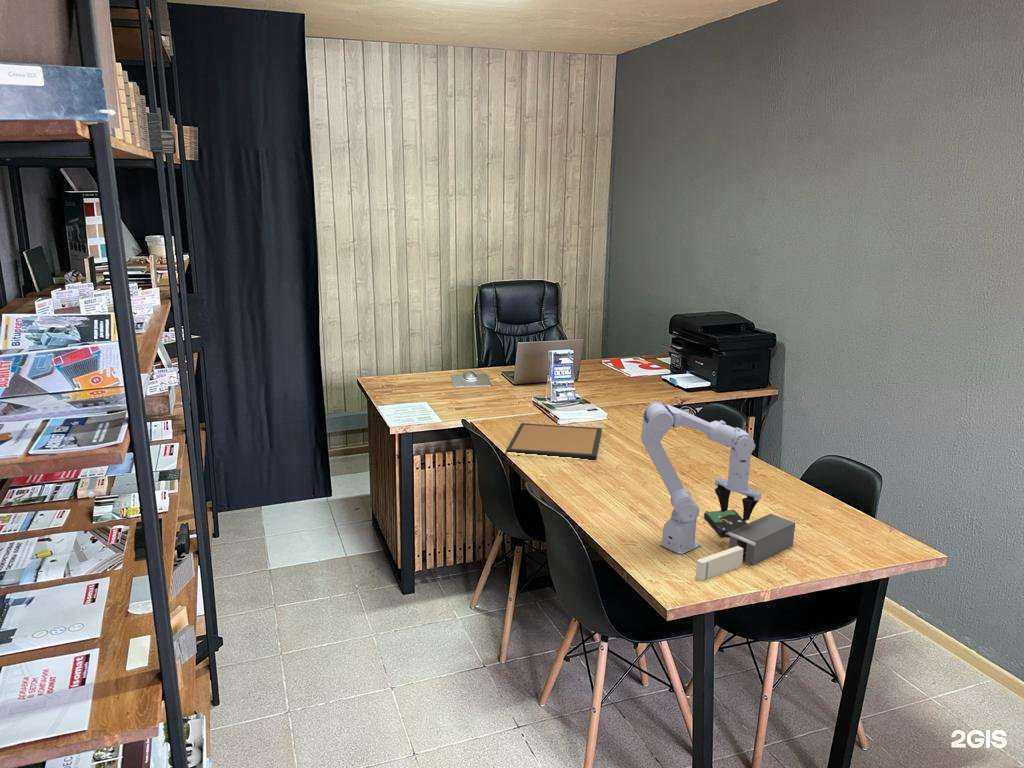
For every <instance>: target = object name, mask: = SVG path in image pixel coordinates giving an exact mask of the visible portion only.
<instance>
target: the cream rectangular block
mask: <svg viewBox="0 0 1024 768" xmlns="http://www.w3.org/2000/svg"><path fill="white" fill-rule="evenodd" d="M743 556H744V554H743V548H741V547H739V546H736V547H733V548H730V549H729V548H728V549H725V550H722V551H719V552H715V553H713V554H710V555H708V556H705V557H702V558H699V559H697V560H696V564H695V567H696V568H695V576H694V577H695V579H696V580H698V581H699V582H703V581H705V580H708V579H711V578H713V577H716V576H719V575H721V574H722V575H723V574H725V573H727V572H730V571H732V570H736V569H738V568H740V567H742V566H743V559H744V557H743Z"/></svg>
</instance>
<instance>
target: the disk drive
mask: <svg viewBox="0 0 1024 768" xmlns="http://www.w3.org/2000/svg"><path fill="white" fill-rule="evenodd" d="M703 518H704V520H705V521H706V522H707V523H708V524H709V526H710V527H712V529H713V530H714V531H715V533H716V534H717V535H718V536H719V537H720V538H723V539H724V538H730V536H729V535H728V532H730V531H732V530H734V529H737V528H739V527H741V526H743V525H746V524H748V522H747V521H744V520H743V516H741V515H740V514H739V513H738V512H737V511H736V510H735V509H730V510H728V509H727V511H725V512H721V509H720V510H717V511H716V510H715V511H708V510H706V511H705V512H704V513H703Z"/></svg>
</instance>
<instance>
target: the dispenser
mask: <svg viewBox="0 0 1024 768" xmlns="http://www.w3.org/2000/svg"><path fill="white" fill-rule="evenodd" d="M795 529H796V522H794V521H791V520H789V519H787V518H784V517H781V516H778V515H775V514H773V513H769V514H767V515H764V516H761V517H760V518H758V519H755V520H753V521H751V522H749V523H748V522H747V524H746V525H743V526H741V527H739V528H737V529H734V530H732V531H730V532H728V535H729V536H730V537H729V542H728V549H730V548H733V547H736V546H739V547H741V548H743V555H744V554H745V563H747V564H749V565H751V566H754V565H757V564H758V563H760V562H762V561H764V560H767V559H768V558H770V557H773V556H774V555H776V554H779V553H780V552H782V551H784V550H787V549H789V548H791V547H792V546H794V539H795Z"/></svg>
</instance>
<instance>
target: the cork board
mask: <svg viewBox="0 0 1024 768" xmlns="http://www.w3.org/2000/svg"><path fill="white" fill-rule="evenodd" d="M602 433H603V428H602V427H589V426H588V427H587V426H575V425H573V426H572V425H560V424H559V425H557V424H556V425H555V424H542V423H541V424H538V423H522V422H521V423H520V425H519V426H518V428H517V430H516V432H515V434H514V435H513V437H512V439H511V440H510V443H509V444H508V446H507V448H506V450H505V453H506V452H516V453H525V454H537V455H547V456H559V457H572V458H580V459H588V460H596V459H598V455H599V450H598V449H600V445H599V444H601V440H602V435H601V434H602ZM600 439H601V440H600ZM597 454H598V455H597ZM596 461H597V460H596Z"/></svg>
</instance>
